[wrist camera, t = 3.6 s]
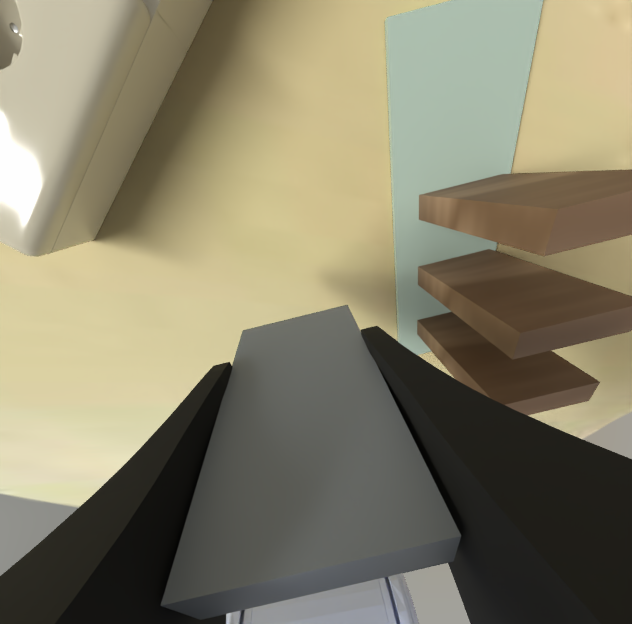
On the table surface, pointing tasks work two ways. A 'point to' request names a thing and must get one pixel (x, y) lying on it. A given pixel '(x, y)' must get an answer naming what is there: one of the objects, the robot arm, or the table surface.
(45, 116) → the electrical outlet
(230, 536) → the charcoal end domino
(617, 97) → the table surface
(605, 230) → the walnut domino
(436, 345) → the walnut domino
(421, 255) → the sage mat
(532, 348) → the walnut domino
